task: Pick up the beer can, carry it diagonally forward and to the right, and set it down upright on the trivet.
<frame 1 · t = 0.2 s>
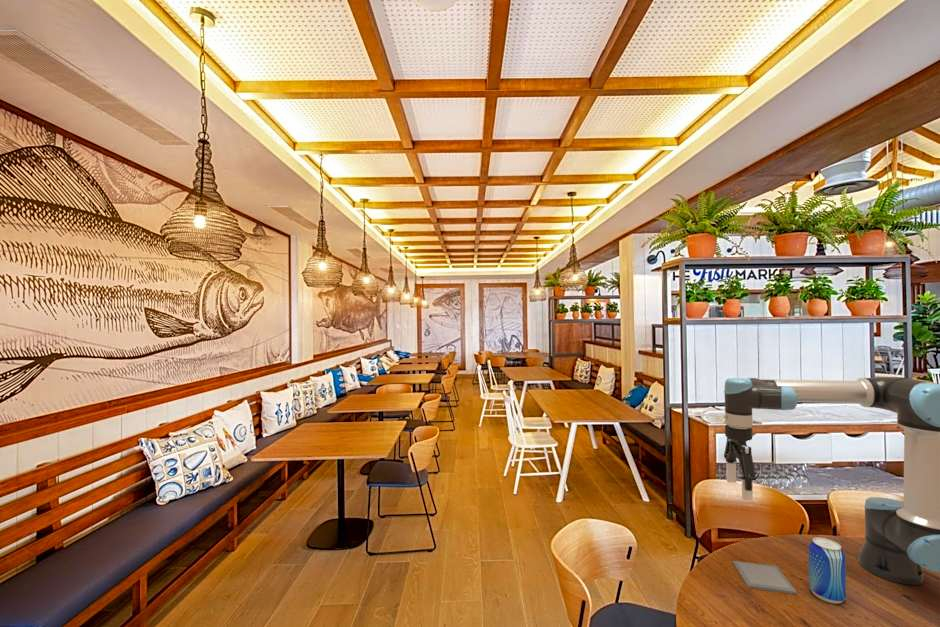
hand: (739, 490, 135), 27 cm above the table, fingers open, 13 cm apart
trivet: (762, 577, 133), on the table
beer can: (826, 596, 124), on the table
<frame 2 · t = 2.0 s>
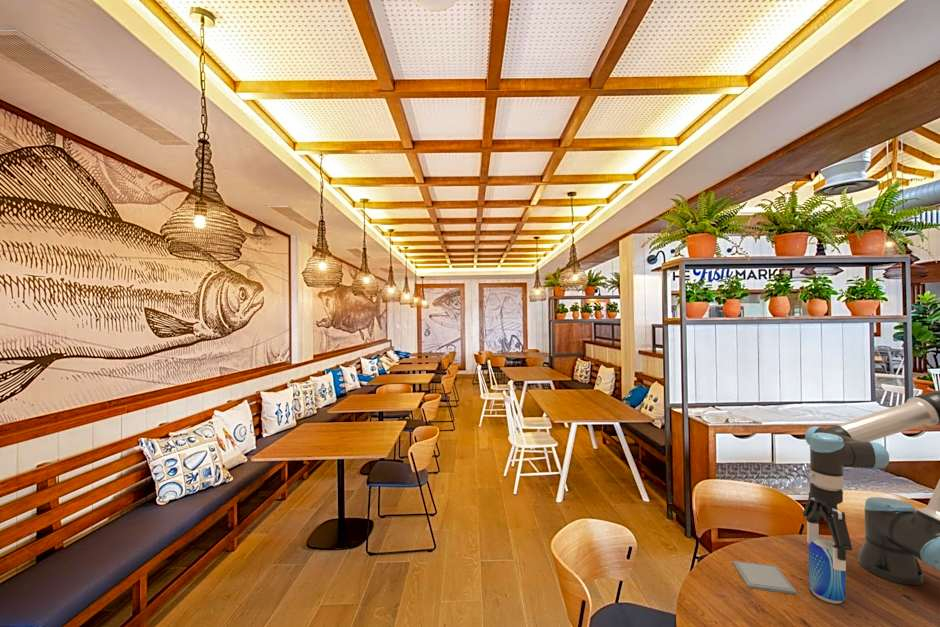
hand: (825, 555, 124), 12 cm above the table, fingers open, 13 cm apart
nothing on the table moved.
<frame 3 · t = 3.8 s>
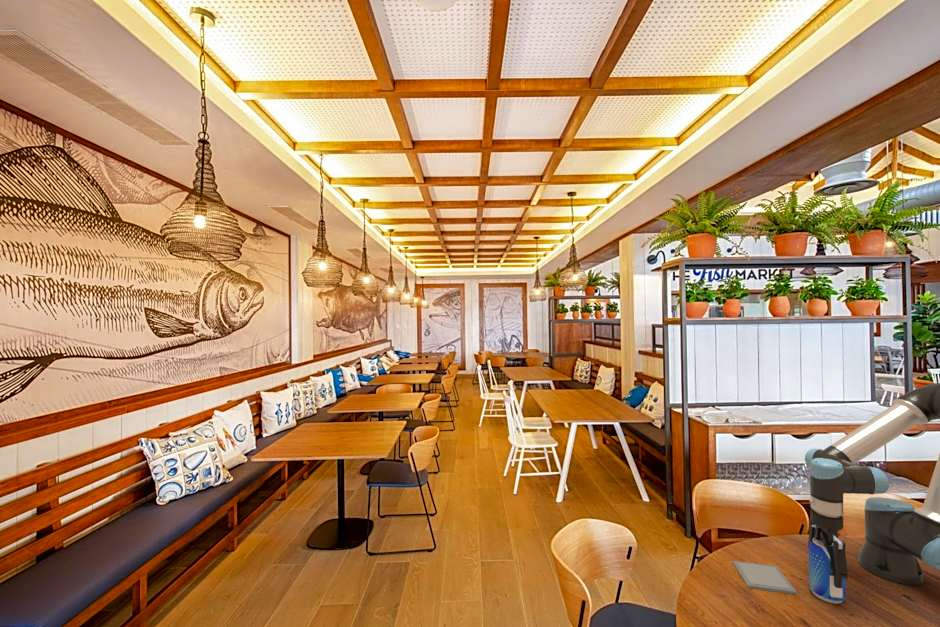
hand: (826, 586, 124), 3 cm above the table, fingers closed on beer can, 8 cm apart
beer can: (827, 596, 124), on the table, touching gripper
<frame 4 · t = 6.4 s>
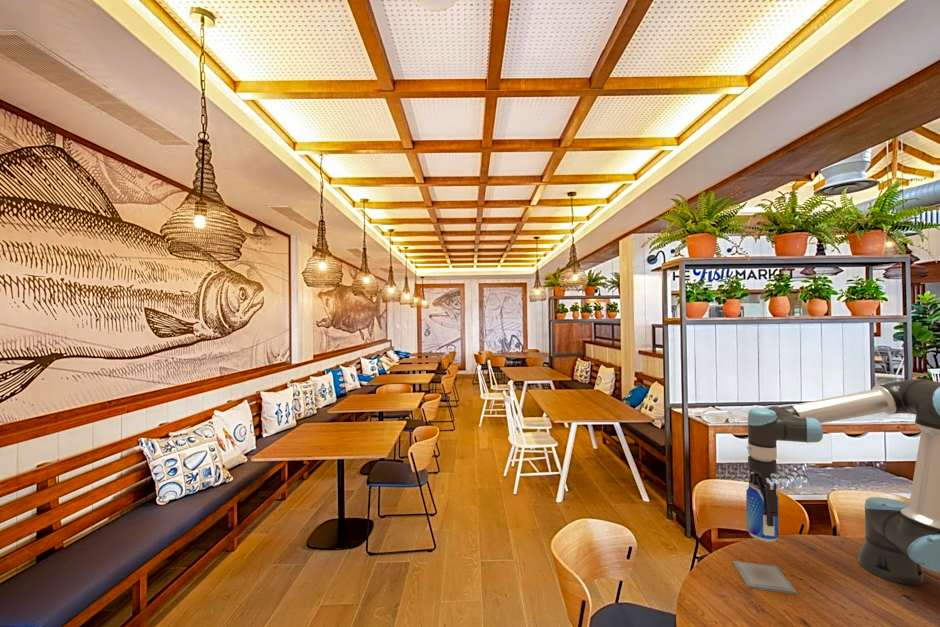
hand: (762, 527, 133), 16 cm above the table, fingers closed on beer can, 8 cm apart
beer can: (762, 536, 133), point 13 cm above the table, touching gripper
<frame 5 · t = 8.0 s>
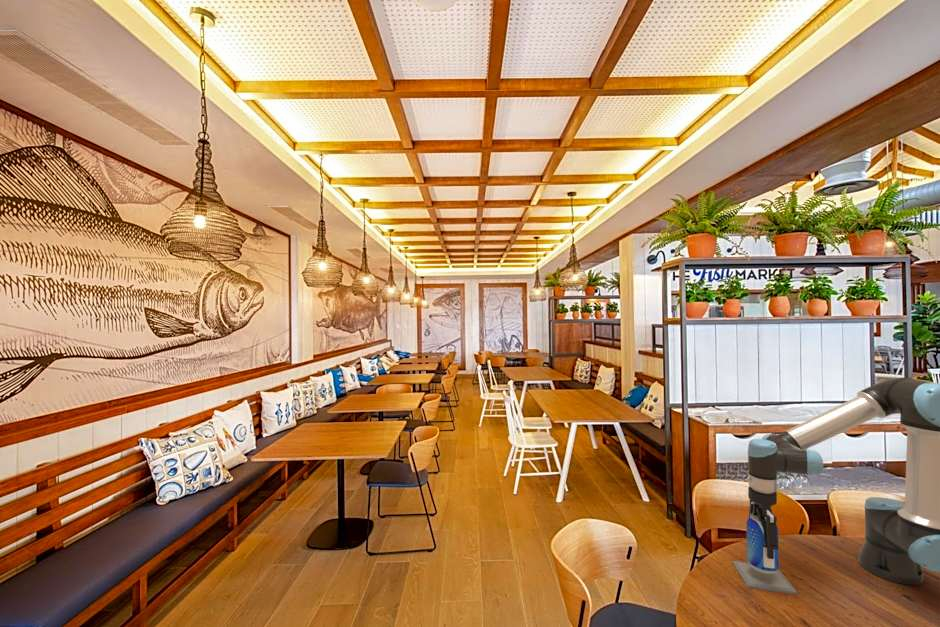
hand: (762, 558, 133), 6 cm above the table, fingers closed on beer can, 8 cm apart
beer can: (762, 567, 133), point 3 cm above the table, touching gripper
when the fingers open (5 cm above the table, at t = 9.1 s): beer can drops 1 cm, resting on trivet.
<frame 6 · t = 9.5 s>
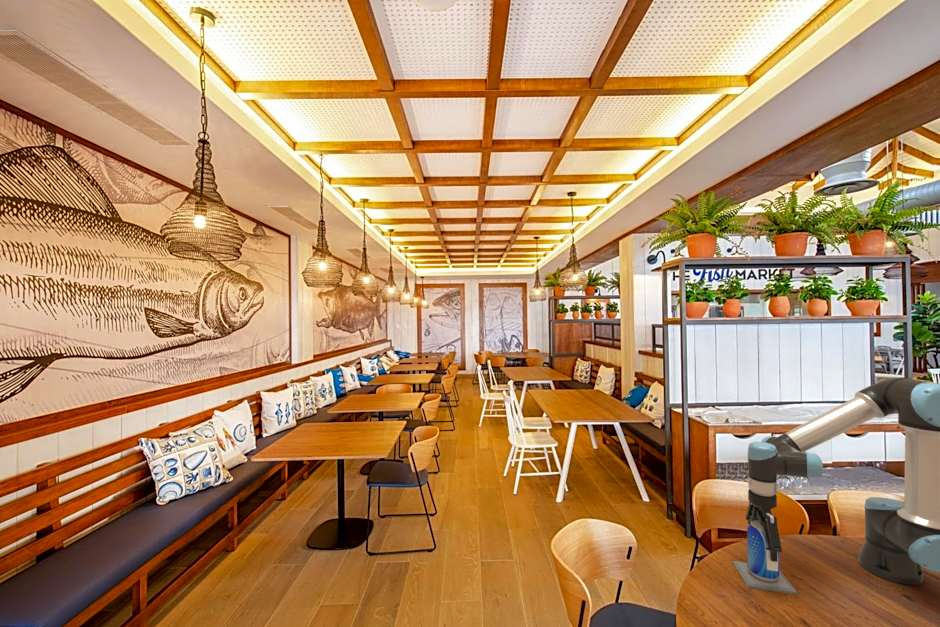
hand: (762, 557, 133), 7 cm above the table, fingers open, 13 cm apart
beer can: (763, 575, 133), point 1 cm above the table, touching trivet
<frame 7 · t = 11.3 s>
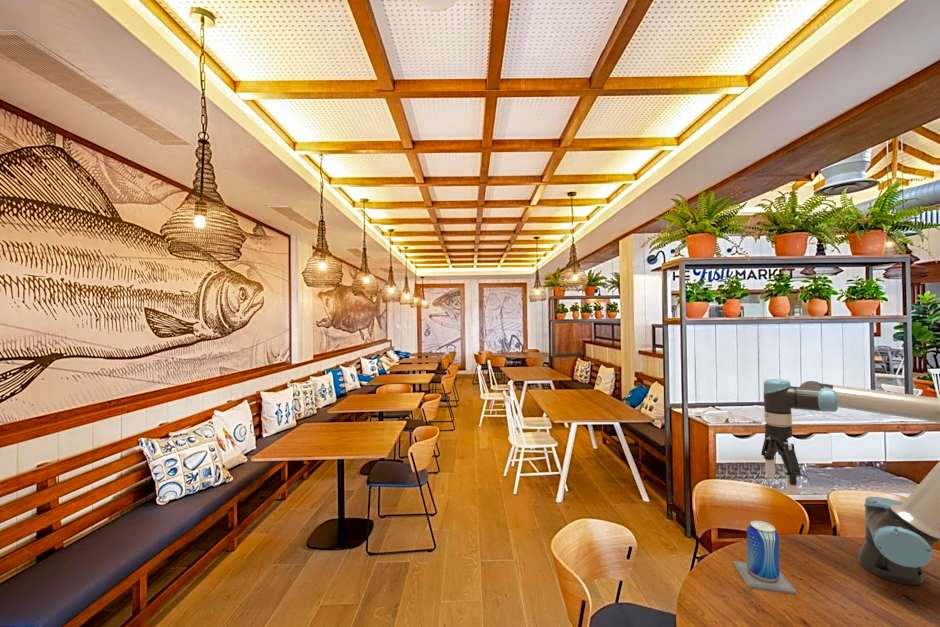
hand: (780, 485, 143), 26 cm above the table, fingers open, 13 cm apart
nothing on the table moved.
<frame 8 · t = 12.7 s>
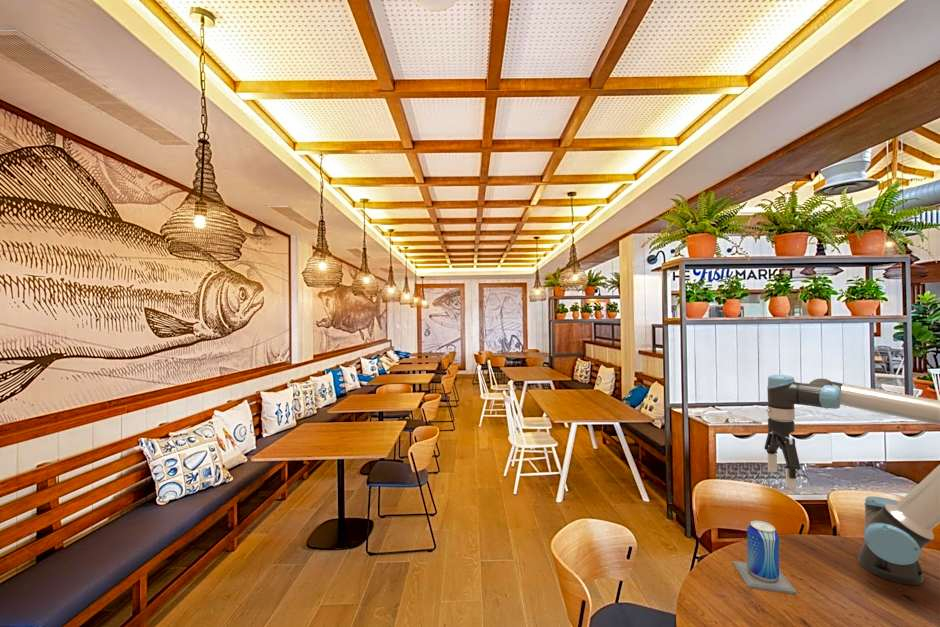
hand: (781, 479, 145), 27 cm above the table, fingers open, 13 cm apart
nothing on the table moved.
at the end: beer can inside the target area on the trivet (0.1 cm from its centre), point 0.7 cm above the trivet's base; beer can tilted 0°; the gripper is holding nothing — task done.
